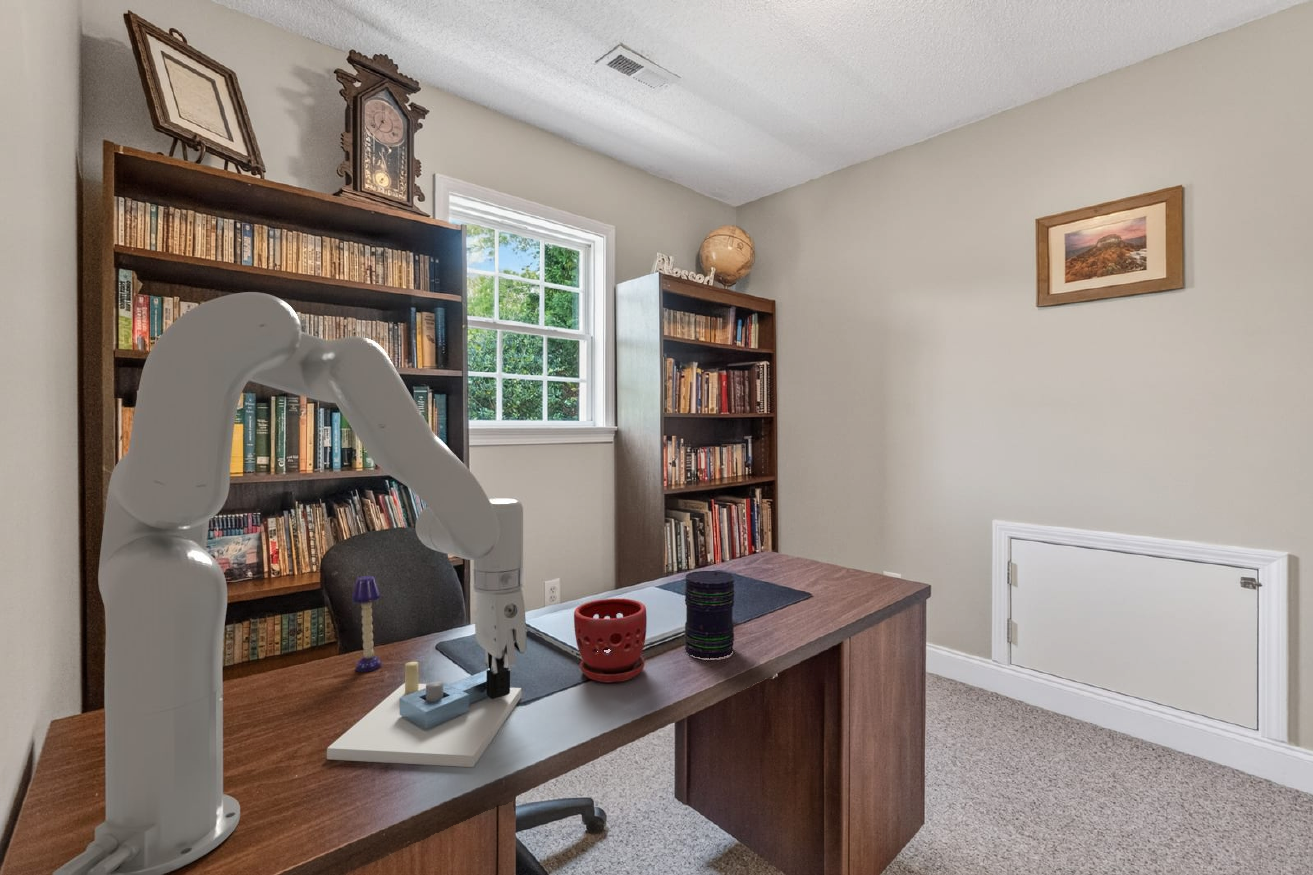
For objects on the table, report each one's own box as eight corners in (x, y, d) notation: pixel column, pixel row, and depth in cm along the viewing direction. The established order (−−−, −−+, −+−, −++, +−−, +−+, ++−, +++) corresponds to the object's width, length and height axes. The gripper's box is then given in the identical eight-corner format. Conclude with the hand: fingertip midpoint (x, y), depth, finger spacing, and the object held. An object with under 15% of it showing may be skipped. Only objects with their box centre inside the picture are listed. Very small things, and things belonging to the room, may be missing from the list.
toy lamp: (359, 675, 104) (359, 581, 104) (347, 668, 107) (347, 577, 106) (385, 666, 108) (385, 576, 107) (373, 660, 110) (373, 572, 110)
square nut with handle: (425, 729, 81) (426, 712, 81) (399, 714, 86) (399, 698, 86) (514, 690, 94) (514, 675, 94) (487, 679, 98) (487, 664, 98)
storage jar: (720, 665, 109) (721, 585, 109) (675, 654, 114) (675, 578, 114) (741, 648, 118) (742, 574, 117) (698, 639, 123) (699, 568, 123)
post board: (473, 767, 76) (473, 721, 75) (327, 759, 77) (327, 714, 77) (521, 697, 95) (521, 660, 95) (404, 692, 97) (404, 656, 97)
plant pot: (623, 653, 114) (623, 593, 114) (660, 677, 104) (660, 610, 103) (562, 668, 107) (562, 603, 107) (594, 695, 96) (595, 623, 96)
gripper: (541, 584, 87) (541, 706, 87) (502, 566, 99) (502, 673, 99) (493, 593, 83) (493, 721, 83) (458, 572, 95) (458, 684, 95)
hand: (498, 694), depth 91 cm, fingers closed
